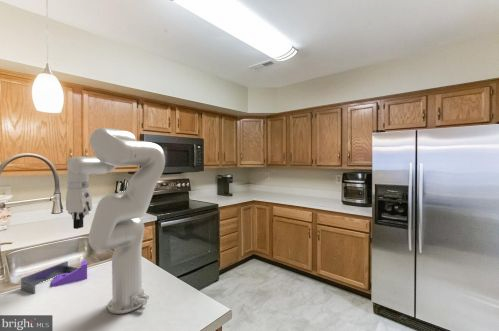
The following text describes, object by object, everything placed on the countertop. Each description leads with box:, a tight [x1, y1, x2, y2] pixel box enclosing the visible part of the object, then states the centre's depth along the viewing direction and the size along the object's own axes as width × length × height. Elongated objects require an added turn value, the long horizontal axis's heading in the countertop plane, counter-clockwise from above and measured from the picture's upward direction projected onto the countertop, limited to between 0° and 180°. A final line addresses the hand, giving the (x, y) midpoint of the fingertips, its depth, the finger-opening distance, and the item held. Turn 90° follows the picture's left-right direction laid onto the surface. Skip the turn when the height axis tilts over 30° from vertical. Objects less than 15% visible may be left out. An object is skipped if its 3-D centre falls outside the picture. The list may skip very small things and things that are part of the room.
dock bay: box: [20, 261, 78, 295], centre depth 102 cm, size 8×17×5 cm, turn 161°
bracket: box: [51, 260, 88, 288], centre depth 104 cm, size 12×7×7 cm, turn 125°
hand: (78, 227), depth 104 cm, fingers closed
